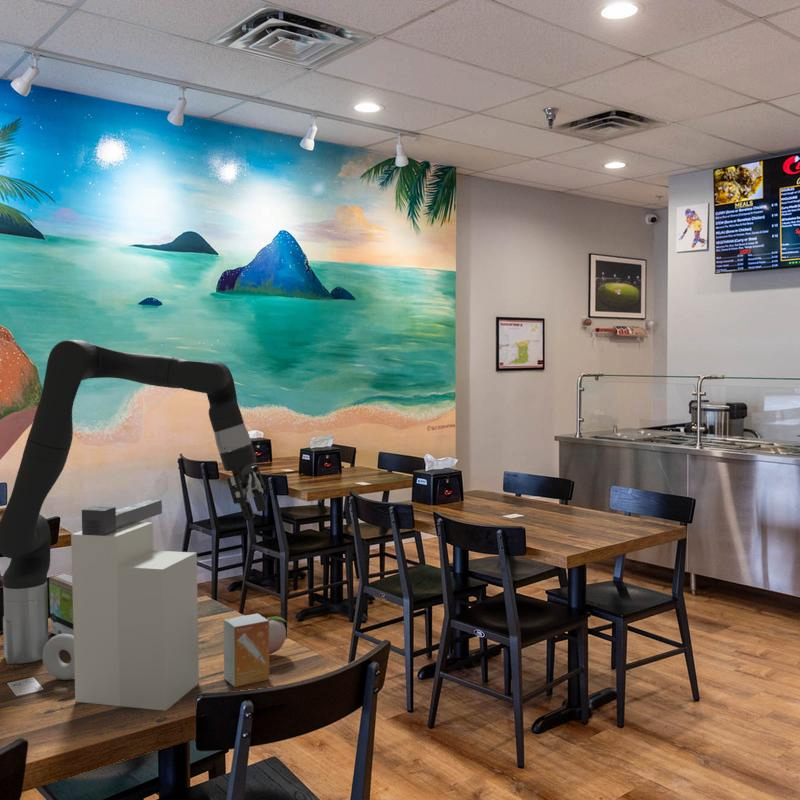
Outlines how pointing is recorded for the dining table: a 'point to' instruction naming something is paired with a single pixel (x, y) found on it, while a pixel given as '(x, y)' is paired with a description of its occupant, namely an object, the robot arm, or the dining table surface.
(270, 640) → the decorative fruit
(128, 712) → the dining table surface
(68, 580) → the tea box
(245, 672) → the small box
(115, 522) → the metal bar
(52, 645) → the donut
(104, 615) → the two tier stand
